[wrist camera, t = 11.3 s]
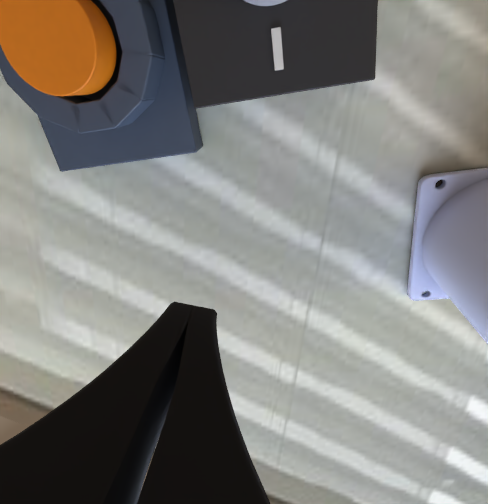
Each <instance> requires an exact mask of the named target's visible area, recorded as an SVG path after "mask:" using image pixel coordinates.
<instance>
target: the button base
mask: <svg viewBox="0 0 488 504" xmlns="http://www.w3.org/2000/svg"><path fill="white" fill-rule="evenodd" d="M91 1H92V2H93V3H94V4H95V5H96V6H97V7H98V8H99V9H100V10H101V12H102V13H103V14H104V16H105V17H106V19H107V21H108V23H109V25H110V27H111V29H112V32H113V35H114V39H115V43H116V65H115V69H114V72H113V75H112V77H111V79H110V81H109V82H108V83H107V84H106V85H105V86H104V87H103V88H102V89H101V90H99V91H97V92H95V93H93V94H89V95H75V96H53V95H49V94H46V93H43V92H41V91H39V90H37V89H35V88H34V87H32V86H31V85H29V84H28V83H27V82H26V81H24V80H23V79H22V78H21V77H20V76H19V75H18V74H17V72H16V71H15V70H14V69H13V67H12V66H11V65H10V63H9V61H8V60H7V58H6V56H5V54H4V52H3V50H2V47H1V45H0V69H1V71H2V74H3V76H4V78H5V81H6V82H7V84H8V85H9V86H10V87H11V88H12V89H13V90H14V91H15V92H16V93H17V94H18V95H19V96H20V97H21V98H22V99H23V100H24V101H25V102H26V103H27V104H28V105H29V107H30V108H31V109H32V110H33V111H34V112H35V113H36V114H37V115H38V117H39V120H40V122H41V125H42V127H43V130H44V132H45V134H46V137H47V139H48V142H49V144H50V147H51V149H52V152H53V154H54V157H55V159H56V161H57V164H58V166H59V169H60V171H68V170H75V169H82V168H89V167H96V166H103V165H110V164H117V163H124V162H131V161H138V160H145V159H152V158H159V157H166V156H173V155H180V154H188V153H195V152H197V151H198V150H199V149H200V148H201V147H202V146H203V144H202V139H201V134H200V129H199V124H198V119H197V114H196V109H195V108H194V104H193V99H192V94H191V89H190V84H189V79H188V74H187V69H186V64H185V59H184V54H183V49H182V44H181V39H180V34H179V29H178V24H177V19H176V13H175V8H174V3H173V0H91Z"/></svg>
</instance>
